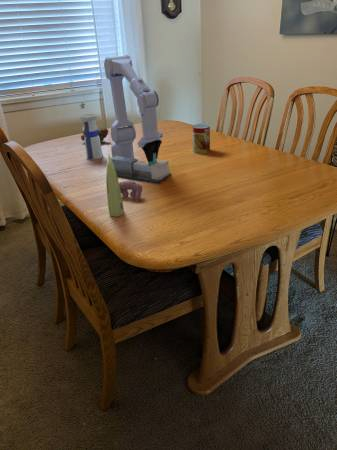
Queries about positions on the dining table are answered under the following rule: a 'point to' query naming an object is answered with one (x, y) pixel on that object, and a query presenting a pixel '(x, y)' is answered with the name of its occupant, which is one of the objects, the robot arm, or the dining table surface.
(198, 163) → the dining table surface
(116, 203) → the tube
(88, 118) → the water bottle
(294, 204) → the dining table surface
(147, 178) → the grey long angular block
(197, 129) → the canned food
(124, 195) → the video game controller
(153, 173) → the socket
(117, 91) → the robot arm
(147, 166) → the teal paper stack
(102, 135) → the decorative turtle
